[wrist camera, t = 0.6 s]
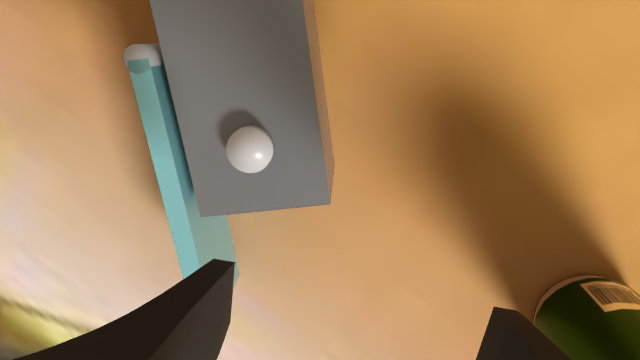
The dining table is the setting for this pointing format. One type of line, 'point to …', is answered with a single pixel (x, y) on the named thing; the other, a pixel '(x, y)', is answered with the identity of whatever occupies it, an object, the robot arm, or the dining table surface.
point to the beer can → (591, 318)
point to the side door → (174, 165)
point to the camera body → (248, 102)
